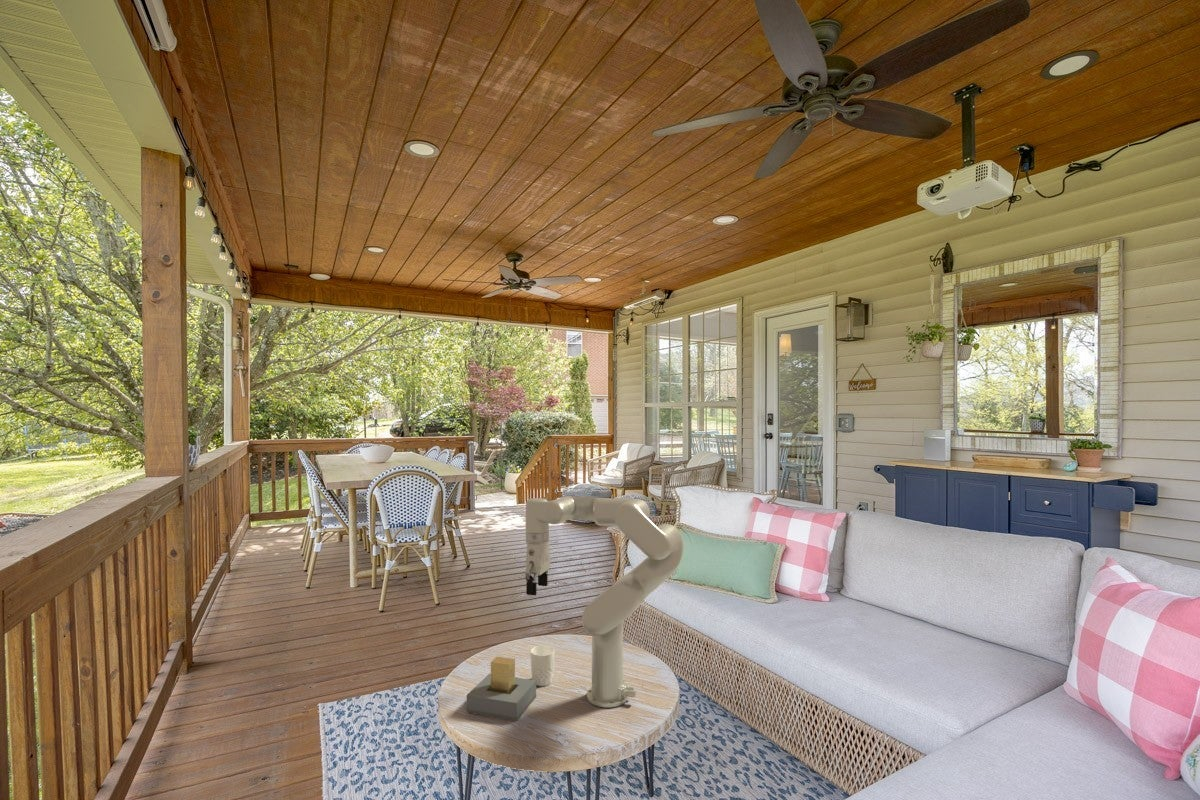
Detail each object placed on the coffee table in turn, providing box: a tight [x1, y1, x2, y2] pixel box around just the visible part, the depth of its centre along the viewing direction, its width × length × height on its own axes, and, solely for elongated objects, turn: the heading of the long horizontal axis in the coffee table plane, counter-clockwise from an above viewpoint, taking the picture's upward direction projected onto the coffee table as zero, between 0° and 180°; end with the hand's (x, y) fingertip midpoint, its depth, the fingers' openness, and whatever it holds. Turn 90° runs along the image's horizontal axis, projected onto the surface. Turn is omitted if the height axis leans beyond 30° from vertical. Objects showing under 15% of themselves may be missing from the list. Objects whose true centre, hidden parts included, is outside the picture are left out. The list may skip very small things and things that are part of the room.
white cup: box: [530, 645, 556, 687], centre depth 180 cm, size 8×8×10 cm
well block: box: [465, 673, 537, 722], centre depth 165 cm, size 16×14×5 cm
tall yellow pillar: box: [490, 656, 516, 694], centre depth 165 cm, size 6×4×12 cm, turn 74°
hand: (537, 590), depth 178 cm, fingers open, 9 cm apart
